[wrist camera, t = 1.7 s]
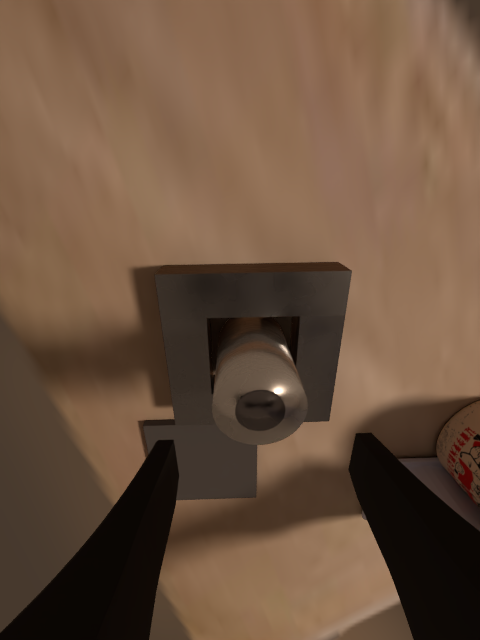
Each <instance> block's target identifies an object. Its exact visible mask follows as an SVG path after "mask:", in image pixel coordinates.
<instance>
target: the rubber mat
mask: <svg viewBox="0 0 480 640" xmlns="http://www.w3.org/2000/svg"><path fill="white" fill-rule="evenodd" d="M143 429H144V434H145V439H146V444H147V449H148V454H149V453H150V451H151V450H152V448H153V446H154V445H155V443H156V442H157V441H158V440H174V444H175V451H176V457H177V464H178V471H179V482H178V490H177V497H176V500H196V499H225V498H254V497H256V484H257V445H251V444H245V443H241V442H238V441H236V440H233V439H231V438H230V437H228V436H227V435H225V434H224V433H223V432H222V431H221V430H220V429H219V428H218V426H217V425H185V426H176V425H175V420H146V421H145V422H144V425H143Z"/></svg>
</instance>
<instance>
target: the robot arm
mask: <svg viewBox="0 0 480 640" xmlns="http://www.w3.org/2000/svg"><path fill="white" fill-rule="evenodd" d="M349 473H350V476H351V479H352V483H353V486H354V489H355V492H356V495H357V498H358V500H359V502H360V505H361V507H362V513H361V514H362V517H363V519H365V520H367V521H368V523H369V525H370V528H371V530H372V532H373V535H374V537H375V539H376V541H377V544H378V546H379V548H380V550H381V553H382V555H383V557H384V559H385V562H386V564H387V566H388V569H389V571H390V574H391V576H392V579H393V581H394V584H395V587H396V590H397V592H398V595H399V598H400V601H401V604H402V606H403V609H404V612H405V615H406V618H407V621H408V624H409V627H410V630H411V633H412V636H413V639H414V640H480V509H479V507H478V506H477V505H476V504H475V503H474V502H473V501H472V499H471V498H470V497H469V496H468V495H467V494H466V492H465V491H464V490H463V489H462V488H461V487H460V485H459V484H458V483H457V482H456V481H455V480H454V478H453V477H452V476H451V475H450V474H449V473H448V471H447V470H446V469H445V468H444V467H443V466H442V464H441V463H440V461H439V459H438V457H437V458H406V459H397V458H396V457H395V456H394V455H393V454H392V453H391V452H390V451H389V450H388V449H387V448H386V447H385V446H384V445H383V444H382V443H381V442H380V441H379V440H378V439H377V438H376V437H375V436H374V435H373V434H372V433H356V436H355V440H354V445H353V450H352V455H351V460H350V465H349ZM178 482H179V471H178V464H177V457H176V451H175V444H174V440H158V441H157V442H156V443H155V445H154V446H153V448H152V450H151V451H150V453H149V455H148V456H147V458H146V460H145V461H144V463H143V465H142V466H141V468H140V469H139V471H138V472H137V474H136V475H135V477H134V478H133V480H132V481H131V483H130V484H129V486H128V487H127V489H126V490H125V492H124V493H123V494H122V496H121V497H120V499H119V500H118V501H117V503H116V504H115V505H114V507H113V508H112V509H111V511H110V512H109V513H108V515H107V516H106V518H105V519H104V520H103V521H102V523H101V524H100V525H99V527H98V528H97V529H96V530H95V532H94V533H93V534H92V535H91V536H90V538H89V539H88V540H87V541H86V543H85V544H84V545H83V546H82V547H81V548H80V550H79V551H78V552H77V553H76V554H75V555H74V557H73V558H72V559H71V560H70V561H69V562H68V563H67V564H66V565H65V567H64V568H63V569H62V570H61V571H60V572H59V573H58V574H57V576H56V577H55V578H54V579H53V580H52V581H51V582H50V583H49V584H48V585H47V586H46V587H45V588H44V590H42V592H41V593H40V594H39V595H38V596H37V597H36V598H35V599H34V600H33V601H32V602H31V603H30V604H29V605H28V606H27V607H26V608H25V609H24V610H23V611H22V612H21V613H20V614H19V615H18V616H17V617H16V618H15V619H14V620H13V621H12V622H11V623H10V624H9V625H8V626H7V627H6V628H5V629H4V630H3V631H2V632H1V633H0V640H149V635H150V628H151V622H152V616H153V609H154V603H155V596H156V590H157V585H158V580H159V575H160V570H161V566H162V562H163V557H164V553H165V549H166V544H167V540H168V536H169V531H170V527H171V523H172V518H173V514H174V509H175V505H176V497H177V490H178Z"/></svg>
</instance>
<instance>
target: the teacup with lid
mask: <svg viewBox="0 0 480 640" xmlns="http://www.w3.org/2000/svg"><path fill="white" fill-rule="evenodd" d="M436 451H437V456H438V459H439V461H440V463H441V464H442V466H443V467H444V468H445V469H446V470H447V471H448V473H449V474H450V475H451V476H452V477H453V478H454V480H455V481H456V482H457V483H458V484H459V485H460V487H461V488H462V489H463V490H464V491H465V492H466V494H467V495H468V496H469V497H470V498H471V499H472V501H473V502H474V503H475V504H476V505H477V506H478V507H479V509H480V400H479V401H476V402H474V403H472V404H470V405H468V406H466V407H465V408H463V409H462V410H460V411H459V412H457V413H456V414H455V415H454V416H453V417H452V418H451V419H450V420H449V421H448V422H447V423H446V425H445V426H444V427H443V429H442V431H441V432H440V434H439V437H438V440H437V445H436Z"/></svg>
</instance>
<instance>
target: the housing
mask: <svg viewBox="0 0 480 640" xmlns="http://www.w3.org/2000/svg"><path fill="white" fill-rule="evenodd" d="M351 274H352V270H350V269H348V268H347V267H345V266H344V265H342V264H340V263H339V262H320V263H266V264H212V265H163V266H162V267H161V268H160V269H159V270H158V271H157V272H156V274H155V282H156V289H157V296H158V303H159V311H160V318H161V325H162V332H163V339H164V346H165V354H166V361H167V368H168V375H169V382H170V389H171V397H172V404H173V411H174V418H175V425H176V426H185V425H216V423H215V421H214V418H213V413H212V405H213V394H214V383H215V375H213V360H212V343H211V327H210V318H239V317H284V316H292V325H291V340H290V353H291V356H292V359H293V361H294V364H295V367H296V370H297V372H298V375H299V378H300V380H301V383H302V386H303V388H304V391H305V394H306V397H307V402H308V409H307V414H306V417H305V419H304V421H303V422H320V421H329V418H330V412H331V405H332V398H333V392H334V385H335V379H336V372H337V366H338V359H339V353H340V346H341V339H342V333H343V326H344V320H345V313H346V307H347V300H348V293H349V287H350V280H351Z"/></svg>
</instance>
